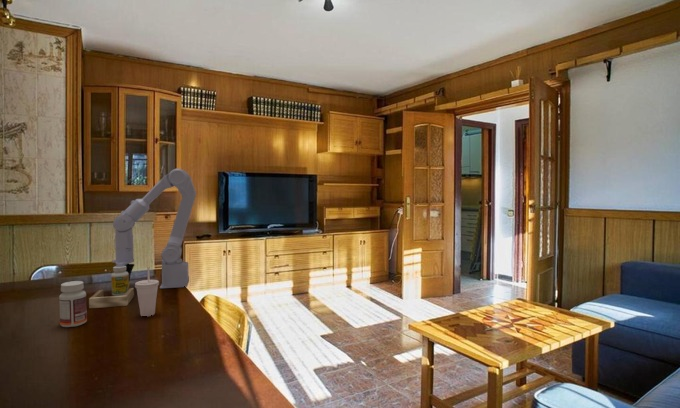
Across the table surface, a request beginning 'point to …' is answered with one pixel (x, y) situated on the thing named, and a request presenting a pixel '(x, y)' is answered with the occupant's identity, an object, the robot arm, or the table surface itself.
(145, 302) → the smoothie
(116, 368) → the table surface
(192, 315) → the table surface
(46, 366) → the table surface
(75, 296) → the pill bottle
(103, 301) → the beech corral
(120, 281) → the supplement bottle
